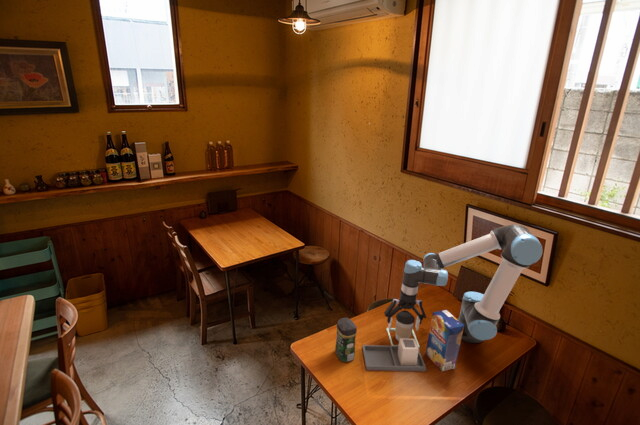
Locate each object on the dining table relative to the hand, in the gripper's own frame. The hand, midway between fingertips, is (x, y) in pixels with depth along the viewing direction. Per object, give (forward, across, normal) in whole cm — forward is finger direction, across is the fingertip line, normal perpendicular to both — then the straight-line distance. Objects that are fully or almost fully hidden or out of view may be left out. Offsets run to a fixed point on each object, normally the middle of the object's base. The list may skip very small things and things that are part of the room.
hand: (403, 328), depth 174 cm
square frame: (+7, 0, 0) cm, 7 cm away
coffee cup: (+7, 0, 0) cm, 7 cm away
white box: (+6, +1, +15) cm, 16 cm away
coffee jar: (+7, +30, +12) cm, 33 cm away
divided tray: (+7, +8, +15) cm, 18 cm away
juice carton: (+7, -14, +15) cm, 22 cm away
